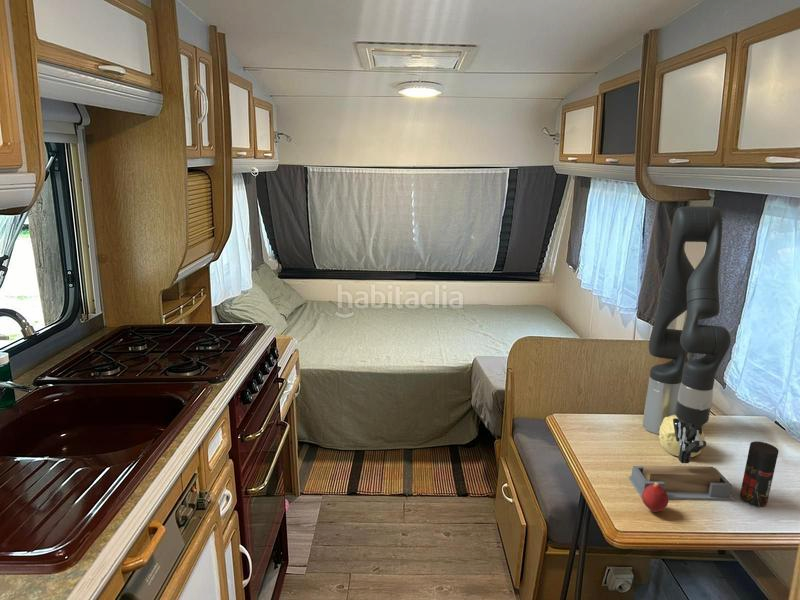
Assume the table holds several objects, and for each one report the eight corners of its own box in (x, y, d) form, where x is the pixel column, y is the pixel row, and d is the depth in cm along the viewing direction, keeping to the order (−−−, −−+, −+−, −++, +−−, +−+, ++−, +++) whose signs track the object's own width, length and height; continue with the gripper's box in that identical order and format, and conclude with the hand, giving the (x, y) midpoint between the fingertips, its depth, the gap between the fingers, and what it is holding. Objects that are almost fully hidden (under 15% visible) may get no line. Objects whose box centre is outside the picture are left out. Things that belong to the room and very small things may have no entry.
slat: (641, 481, 145) (643, 465, 144) (709, 483, 145) (712, 466, 144) (647, 490, 142) (650, 473, 140) (717, 492, 141) (720, 475, 140)
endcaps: (628, 478, 148) (630, 464, 147) (713, 480, 148) (716, 466, 147) (641, 498, 139) (643, 484, 138) (732, 500, 139) (735, 486, 138)
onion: (658, 503, 137) (663, 475, 135) (670, 518, 132) (675, 489, 130) (636, 503, 137) (640, 476, 135) (646, 518, 132) (651, 490, 130)
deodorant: (741, 490, 143) (752, 438, 140) (768, 499, 140) (779, 446, 136) (737, 500, 139) (748, 448, 135) (765, 510, 135) (777, 456, 131)
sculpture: (655, 438, 169) (660, 406, 166) (698, 446, 165) (704, 413, 162) (658, 457, 159) (663, 423, 156) (704, 465, 155) (710, 431, 152)
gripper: (667, 389, 143) (657, 447, 148) (692, 413, 131) (681, 476, 135) (695, 389, 143) (685, 448, 148) (723, 414, 130) (711, 477, 135)
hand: (683, 461), depth 142 cm, fingers closed
